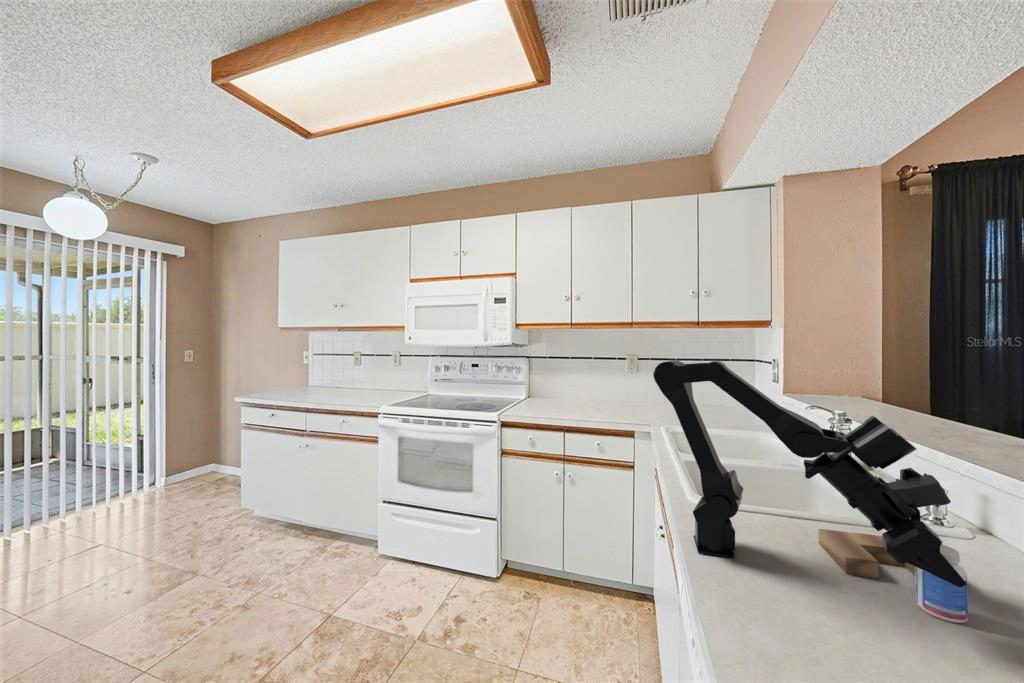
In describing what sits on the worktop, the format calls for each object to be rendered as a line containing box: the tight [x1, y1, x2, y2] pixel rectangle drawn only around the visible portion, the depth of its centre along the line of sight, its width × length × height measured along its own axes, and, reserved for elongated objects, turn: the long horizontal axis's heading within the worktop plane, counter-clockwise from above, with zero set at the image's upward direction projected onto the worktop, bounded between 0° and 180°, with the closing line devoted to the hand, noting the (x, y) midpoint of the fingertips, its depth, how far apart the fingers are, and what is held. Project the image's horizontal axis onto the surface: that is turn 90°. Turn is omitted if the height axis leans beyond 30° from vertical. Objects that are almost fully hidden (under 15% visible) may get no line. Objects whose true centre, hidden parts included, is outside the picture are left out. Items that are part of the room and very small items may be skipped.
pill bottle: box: [914, 544, 969, 624], centre depth 59 cm, size 6×5×10 cm
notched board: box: [817, 528, 915, 579], centre depth 72 cm, size 16×11×3 cm
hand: (953, 572), depth 59 cm, fingers open, 8 cm apart
